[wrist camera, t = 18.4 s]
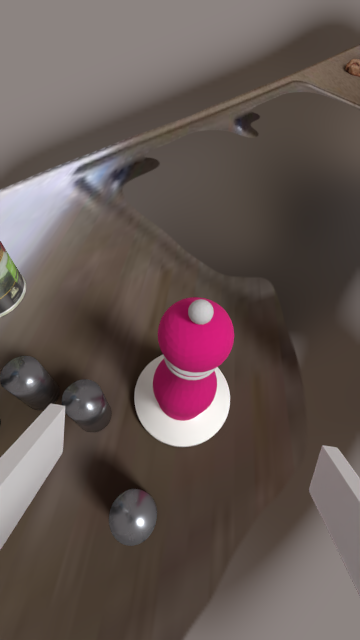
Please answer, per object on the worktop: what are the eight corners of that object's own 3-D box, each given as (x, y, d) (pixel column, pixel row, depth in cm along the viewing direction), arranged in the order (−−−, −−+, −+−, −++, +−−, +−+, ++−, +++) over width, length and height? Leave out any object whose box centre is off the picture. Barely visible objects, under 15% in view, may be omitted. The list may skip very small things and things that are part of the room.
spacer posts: (-38, 405, 35) (-78, 385, 29) (110, 356, 40) (101, 331, 34) (-31, 620, 26) (-88, 657, 20) (162, 525, 30) (163, 531, 24)
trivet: (123, 371, 39) (122, 368, 38) (204, 343, 42) (205, 339, 41) (153, 464, 33) (153, 463, 32) (245, 424, 36) (247, 422, 35)
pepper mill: (152, 369, 38) (148, 264, 21) (207, 367, 39) (245, 264, 22) (153, 426, 35) (148, 355, 18) (214, 424, 35) (266, 352, 18)
